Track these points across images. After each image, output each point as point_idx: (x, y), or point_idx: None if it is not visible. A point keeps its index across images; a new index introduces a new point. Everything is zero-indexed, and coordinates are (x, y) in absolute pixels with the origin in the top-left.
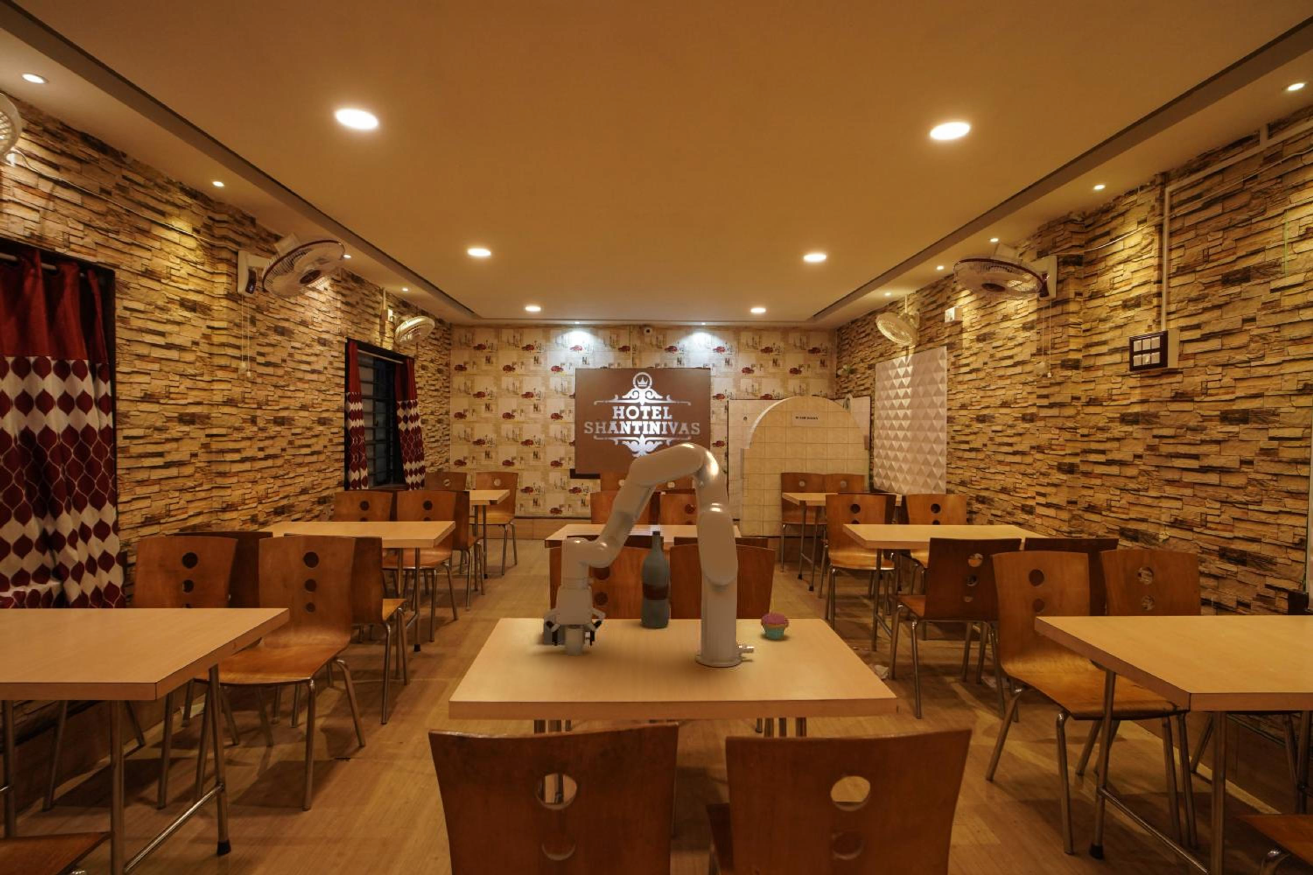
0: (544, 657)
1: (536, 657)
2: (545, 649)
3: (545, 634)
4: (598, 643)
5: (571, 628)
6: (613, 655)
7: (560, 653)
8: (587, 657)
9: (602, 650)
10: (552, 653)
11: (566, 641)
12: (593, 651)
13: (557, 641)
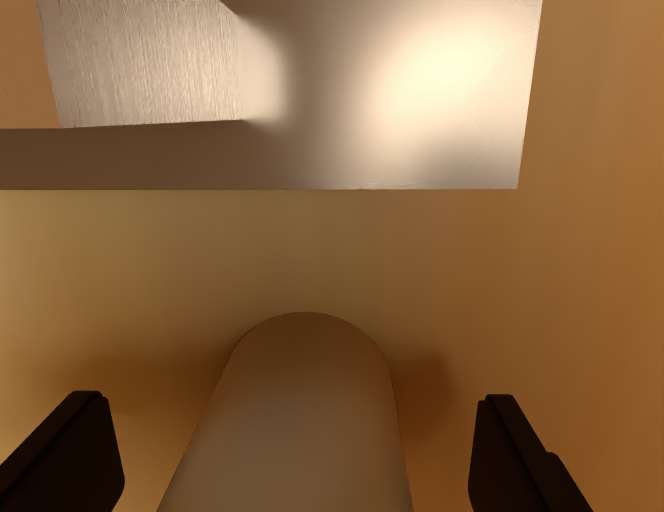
0: None
1: None
2: (26, 299)
3: None
4: (582, 140)
5: None
6: (650, 476)
7: (190, 404)
8: (424, 499)
9: (581, 359)
10: (120, 400)
11: None
12: (490, 378)
13: (100, 418)
